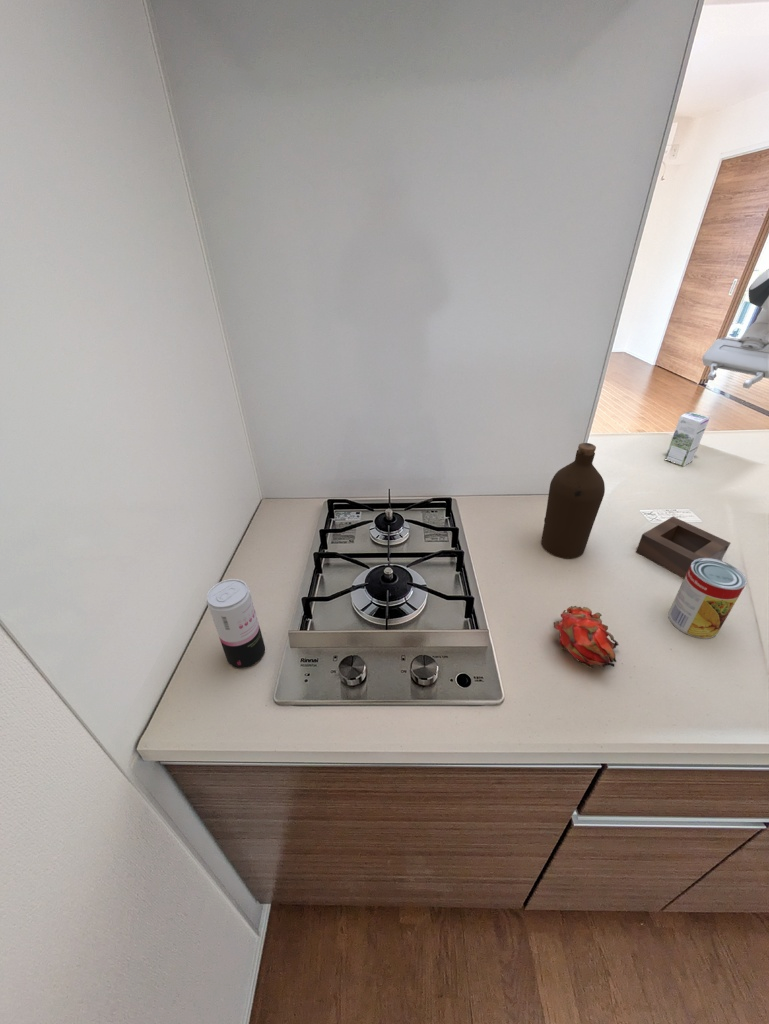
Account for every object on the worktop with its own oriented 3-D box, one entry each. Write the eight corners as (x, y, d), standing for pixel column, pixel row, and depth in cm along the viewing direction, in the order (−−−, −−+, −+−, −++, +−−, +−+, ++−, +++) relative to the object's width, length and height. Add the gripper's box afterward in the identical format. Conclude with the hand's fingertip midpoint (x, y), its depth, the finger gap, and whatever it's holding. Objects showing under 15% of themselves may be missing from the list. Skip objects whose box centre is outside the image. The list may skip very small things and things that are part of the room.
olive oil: (597, 557, 96) (629, 454, 82) (551, 563, 95) (576, 460, 81) (571, 529, 105) (596, 432, 91) (530, 535, 103) (549, 437, 89)
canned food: (728, 632, 78) (758, 582, 71) (693, 643, 76) (721, 593, 69) (691, 602, 84) (715, 553, 77) (658, 611, 82) (680, 563, 76)
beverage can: (219, 659, 76) (196, 597, 68) (247, 634, 80) (229, 573, 72) (246, 676, 73) (225, 613, 65) (273, 648, 78) (257, 586, 69)
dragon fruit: (558, 627, 82) (600, 685, 73) (533, 621, 77) (576, 683, 68) (593, 598, 78) (641, 656, 70) (569, 590, 73) (618, 651, 65)
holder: (665, 533, 102) (673, 516, 100) (721, 561, 94) (730, 542, 91) (635, 552, 97) (642, 534, 94) (691, 582, 89) (700, 563, 86)
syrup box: (692, 461, 131) (711, 416, 123) (682, 467, 129) (701, 421, 121) (673, 455, 135) (690, 410, 127) (663, 460, 133) (679, 415, 125)
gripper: (718, 329, 129) (688, 368, 131) (801, 341, 115) (767, 385, 116) (719, 342, 134) (691, 380, 135) (800, 356, 119) (767, 398, 121)
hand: (727, 382), depth 126 cm, fingers open, 8 cm apart
